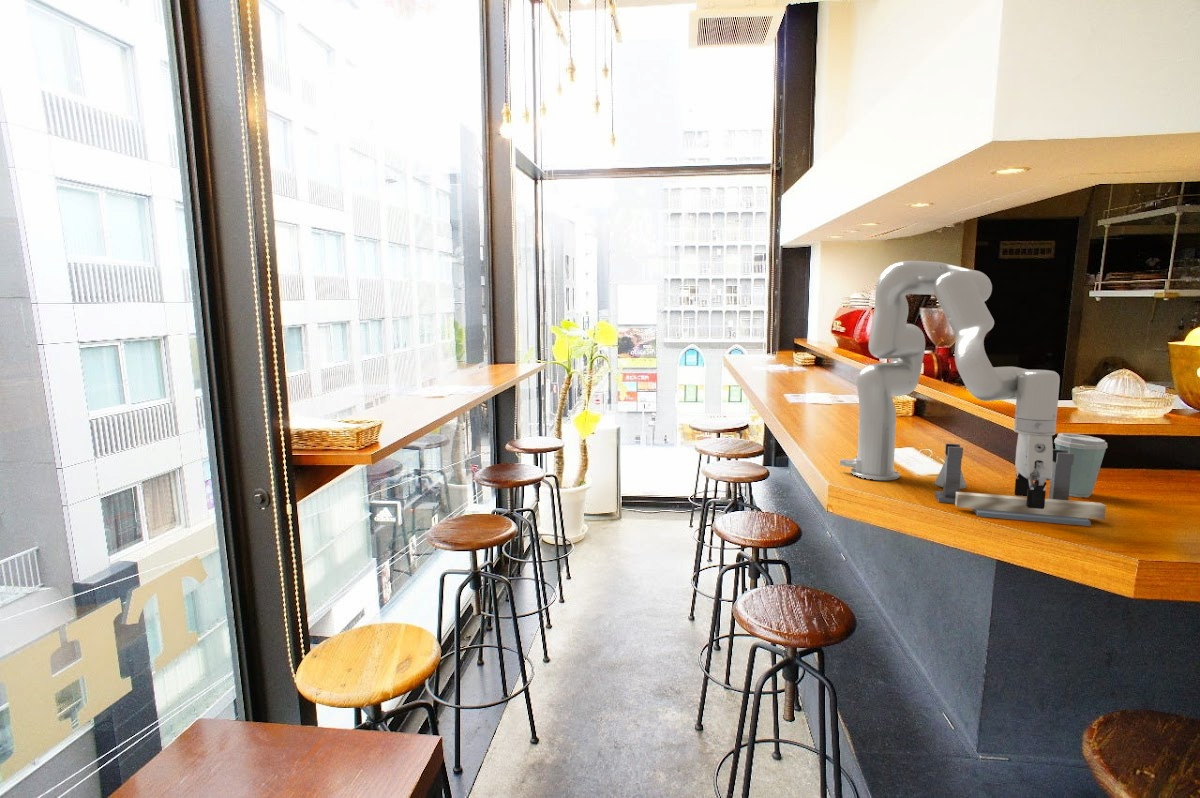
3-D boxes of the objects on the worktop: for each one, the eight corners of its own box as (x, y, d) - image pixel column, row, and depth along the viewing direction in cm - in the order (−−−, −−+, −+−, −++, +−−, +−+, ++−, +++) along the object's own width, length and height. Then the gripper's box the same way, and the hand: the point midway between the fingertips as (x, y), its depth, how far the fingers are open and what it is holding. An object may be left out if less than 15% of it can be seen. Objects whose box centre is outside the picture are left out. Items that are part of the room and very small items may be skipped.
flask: (928, 484, 169) (930, 447, 168) (948, 481, 172) (950, 445, 171) (952, 491, 163) (954, 453, 161) (972, 488, 165) (975, 450, 164)
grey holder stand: (938, 502, 153) (942, 447, 151) (935, 495, 159) (938, 442, 157) (1077, 513, 144) (1082, 455, 142) (1068, 506, 149) (1073, 449, 147)
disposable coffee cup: (1081, 488, 164) (1086, 431, 162) (1114, 500, 153) (1120, 439, 151) (1039, 488, 164) (1044, 431, 162) (1070, 500, 153) (1076, 439, 151)
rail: (956, 507, 146) (957, 494, 146) (955, 504, 148) (955, 491, 148) (1104, 519, 136) (1105, 506, 136) (1100, 516, 138) (1101, 502, 138)
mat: (977, 516, 142) (977, 512, 142) (970, 506, 149) (971, 502, 149) (1090, 526, 135) (1090, 521, 135) (1077, 515, 142) (1078, 511, 142)
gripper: (1068, 434, 130) (1061, 514, 132) (1042, 420, 146) (1037, 493, 149) (1025, 432, 133) (1019, 511, 135) (1005, 419, 149) (1000, 490, 151)
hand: (1028, 501), depth 142 cm, fingers open, 9 cm apart
